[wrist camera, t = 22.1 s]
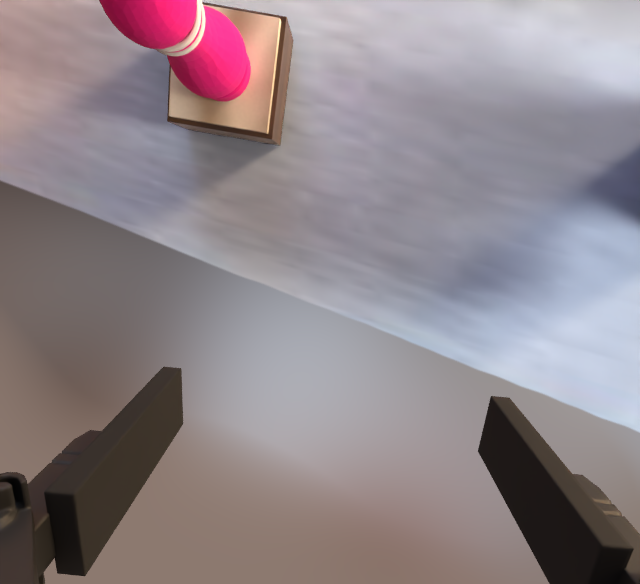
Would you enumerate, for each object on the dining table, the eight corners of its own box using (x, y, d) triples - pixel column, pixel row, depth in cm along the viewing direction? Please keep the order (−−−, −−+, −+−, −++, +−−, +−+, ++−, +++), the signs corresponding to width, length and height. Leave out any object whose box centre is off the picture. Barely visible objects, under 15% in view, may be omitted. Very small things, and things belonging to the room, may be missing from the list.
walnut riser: (293, 39, 44) (285, 12, 37) (280, 145, 47) (270, 138, 40) (194, 22, 44) (169, -8, 37) (188, 129, 47) (163, 120, 40)
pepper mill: (239, 17, 37) (136, -162, 18) (266, 91, 39) (199, -2, 20) (176, 47, 38) (16, -95, 19) (206, 117, 40) (86, 53, 21)
